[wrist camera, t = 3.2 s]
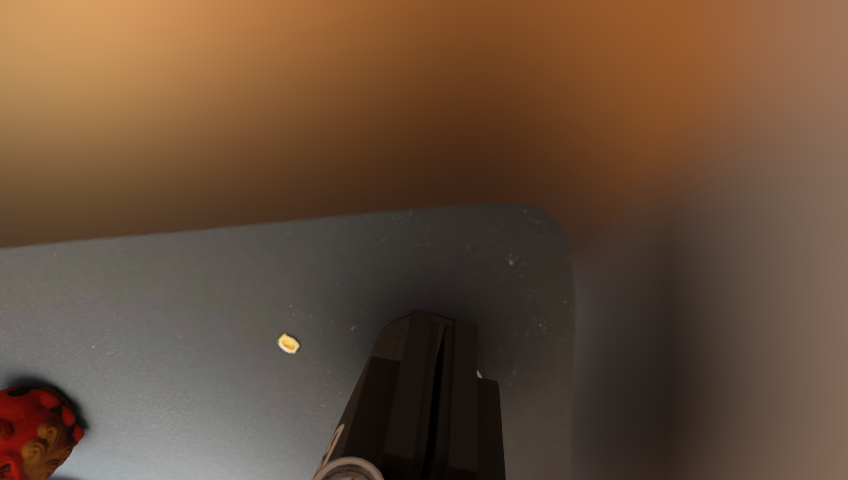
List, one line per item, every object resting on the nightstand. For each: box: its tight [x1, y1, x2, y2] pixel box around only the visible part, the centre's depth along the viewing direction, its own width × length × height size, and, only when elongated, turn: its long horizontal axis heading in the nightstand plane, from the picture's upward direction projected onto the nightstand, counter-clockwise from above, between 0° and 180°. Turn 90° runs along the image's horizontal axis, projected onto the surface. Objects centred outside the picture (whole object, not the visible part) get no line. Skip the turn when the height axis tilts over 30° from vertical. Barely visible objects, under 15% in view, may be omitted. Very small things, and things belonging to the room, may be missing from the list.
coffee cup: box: [316, 315, 484, 473], centre depth 19 cm, size 10×10×15 cm
